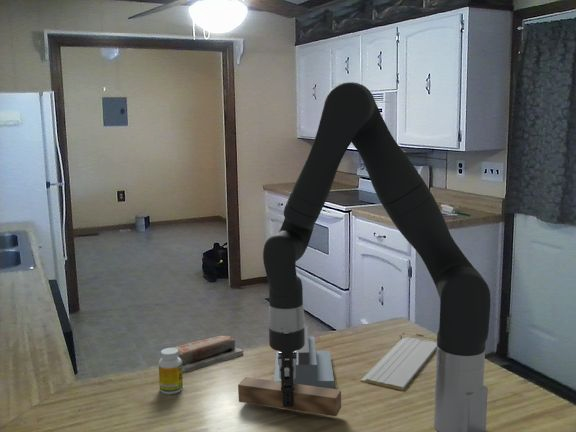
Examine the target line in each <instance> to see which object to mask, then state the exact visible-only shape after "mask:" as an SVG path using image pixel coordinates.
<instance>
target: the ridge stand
mask: <svg viewBox="0 0 576 432" xmlns="http://www.w3.org/2000/svg"><path fill="white" fill-rule="evenodd" d="M304 326H305V345H304V347H303V348H301V349H299V350H296V351H293V352H297V364H296V378H295V379H294V380H293V383H294V384H301V385H309V386H316V387H324V388H331V389H335V378H334V372H333V366H332V365H333V364H332V359H331V351H330V350H316V341H315V339H316V338H315V336H309V327H308V325H304ZM275 351H276V350H275ZM278 352H280V351H276V352H275V363H274V364H275V365H274V374H273V375H274V376H273V381H279V382H281V379H280V378H279V365H278Z"/></svg>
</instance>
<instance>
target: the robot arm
mask: <svg viewBox="0 0 576 432" xmlns="http://www.w3.org/2000/svg"><path fill="white" fill-rule="evenodd" d="M315 134H316V135H315V138H314V140H313V143H312V145H311V148H310V151H309V154H308V156H307V158H306V160H305V162H304V165H303V166H302V169H301V171H300V173H299V175H298V177H297V179H296V181H295V183H294V186H293V188H292V190H291V193H290V194H289V196H288V198H287V202H286V204H285V206H284V209H283V217H284V219H283V222H282V225H281V227H280V229H279V230H278V232H277V233H274V234H273V235H270V236H269V237H268V239H266V241H265V244H264V247H263V251H262V259H263V265H264V266H263V267H264V270H265V275H266V278H267V279H266V280H267V282H268V286H269V287H268V289H269V290H268V293H269V294H268V297H269V299H268V301H269V307H268V338H269V339H268V340H269V341H268V342H269V347H270V348H271V349H273V350H274V351H280V352H278V365H279V378H280V379H281V390H282V392H283V406H284V407H293V391H294V386H293V380H294V379H295V378H296V364H297V352H293V351H296V350H299V349H301V348H303V347H304V345H305V326H306V325H305V310H304V301H303V298H304V297H303V294H304V293H303V283H302V282H303V281H302V279H301V278H300V277H299V276H298V275H297V268H296V267H297V266H296V262H297V261H299V260H300V259H301V258H302V257H303V255H304V254H305V253H306V250H307V249H308V246H309V243H310V241H311V238H312V234H313V230H314V227H315V224H316V222H317V221H318V218H319V217H320V215H321V212H322V209H323V208H324V205H325V204H326V201H327V199H328V196H329V195H330V192H331V189H332V187H333V183H334V180H335V177H336V174H337V171H338V170H339V169H338V168H339V167H340V164H341V162H342V159H344V158H343V157H344V155H345V154H346V152H347V150H348V148H349V146H350V145H351V143H352V145H353V146H354V148H355V149H356V151H357V152H358V154H359V156H360V157H361V159H362V161H363V162H362V163H363V164H364V166H365V169H366V172H367V175H368V176H369V177H368V178H369V180H370V183H371V185H372V187H373V189H374V192H375V195H376V196H377V198H378V200H379V202H380V203H381V205H382V207H383V208H384V210H385V212H386V213H387V215H388V216H389V218H390V221H391V222H392V223H393V224H394V225H395V227H396V228H397V230H398V231H399V232H400V234H401V235H402V236H403V237H404V239H406V241H407V242H408V243H409V244H410V245H411V246H412V248H413V249H414V250H415V251H416V252H417V254H418V255H419V256H420V258H421V260H422V261H423V263H424V265H425V267H426V269H427V271H428V273H429V275H430V277H431V279H432V281H433V283H434V286H435V288H436V291H437V295H438V296H439V299H440V300H439V302H440V303H439V324H438V325H439V326H438V331H437V334H436V339H437V340H436V342H437V348H436V356H435V357H436V361H435V363H436V364H435V385H434V387H435V390H434V414H433V415H434V418H433V419H434V421H433V422H434V423H433V425H434V429H436V431H437V432H486V431H487V409H488V393H489V390H488V387H487V386H485V385H484V384H485V383H484V380H485V379H484V377H485V361H486V359H485V356H486V355H485V354H486V344H487V340H488V338H489V330H490V317H491V302H492V299H491V290H490V287H489V285H488V283H487V281H486V280H485V279H484V277H483V276H482V274H481V273H480V272H479V271H478V270H477V269H476V268H475V266H474V265H473V264H472V263H471V262H470V260H468V258H467V257H466V255H465V254H464V253H463V251H462V249H461V248H460V247H459V246H458V244H457V243H456V242H455V240H454V238H453V236H452V234H451V233H450V229H449V228H448V225H447V223H446V220H445V218H444V215H443V214H442V211H441V209H440V206H439V205H438V203H437V201H436V199H435V197H434V195H433V193H432V192H431V191H430V189H429V187H428V185H427V184H426V182H425V180H424V178H423V177H422V176H421V174H420V173H419V171H418V170H417V168H416V167H415V165H414V164H413V162H412V161H411V160H410V159H409V158H408V156H407V155H406V153H405V152H404V150H403V149H402V148H401V147H400V146H399V144H398V142H397V141H396V140H395V138H394V137H393V135H392V133H391V131H390V129H389V128H388V126H387V123H386V122H385V120H384V117H383V115H382V113H381V112H380V109H379V107H378V104H377V103H376V100H375V97H374V95H373V93H372V92H371V90H370V89H369V88H367V87H366V86H365V85H363V84H361V83H358V82H353V81H352V82H343V83H339V84H337V85H336V86H334V87H332V88H331V89H330V90H329V92H328V93H327V94H326V96H325V99H324V104H323V108H322V113H321V116H320V120H319V124H318V127H317V131H316V133H315ZM284 383H290V384H291V385H284Z"/></svg>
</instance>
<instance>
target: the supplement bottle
mask: <svg viewBox="0 0 576 432" xmlns="http://www.w3.org/2000/svg"><path fill="white" fill-rule="evenodd" d="M178 355H179V351H178V349H176V348H174V347H167V348H166V347H165V348H163V349H162V350H160V359H159V361H158V382H159V383H158V384H159V385H158V386H159V391H160V392H161V393H162V394H165V395H173V394H177V393H180V392H182V390H183V388H184V385H183V384H184V382H183V380H184V379H183V371H182V360H181V359H180V358H179V357H178Z"/></svg>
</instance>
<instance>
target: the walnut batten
mask: <svg viewBox="0 0 576 432" xmlns="http://www.w3.org/2000/svg"><path fill="white" fill-rule="evenodd" d="M284 385H291V384H290V383H284ZM293 386H294V391H293V407H284V406H283V392H282V390H281V382H279V381H274V380H268V379H262V378H255V377H247V376H245V377H244V378H243V379H242V380H241V381H240V382H239V383H238V384H237V387H238V388H237V390H238V402H239V403H244V404H250V405H256V406H257V405H258V406H264V407H271V408H278V409H284V410H292V411H299V412H305V413H311V414H318V415H322V416H323V415H324V416H329V417H330V416H331V417H338V414H339V412H340V411H341V408H342V389H339V388H337V389H336V388H334V389H331V388H324V387H316V386H309V385H301V384H294V383H293Z"/></svg>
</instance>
